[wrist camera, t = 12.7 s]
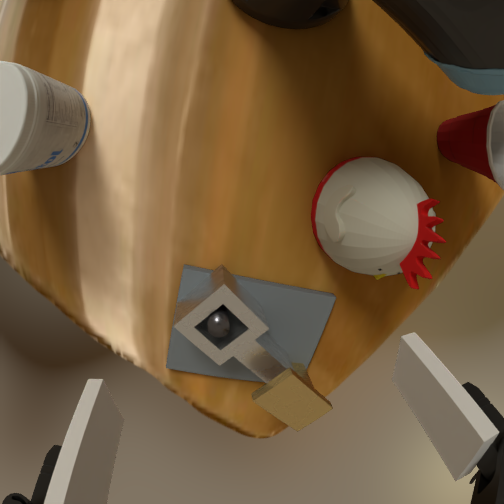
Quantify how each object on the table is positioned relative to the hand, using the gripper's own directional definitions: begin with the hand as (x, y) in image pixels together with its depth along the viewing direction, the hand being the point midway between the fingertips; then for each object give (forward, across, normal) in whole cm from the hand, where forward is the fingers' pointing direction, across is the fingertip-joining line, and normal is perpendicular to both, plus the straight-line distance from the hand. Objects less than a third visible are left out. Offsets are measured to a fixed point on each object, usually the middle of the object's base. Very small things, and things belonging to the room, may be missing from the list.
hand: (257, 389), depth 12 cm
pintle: (+23, -3, -8) cm, 25 cm away
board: (+24, 0, -14) cm, 28 cm away
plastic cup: (+26, +32, +9) cm, 42 cm away
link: (+23, 0, -12) cm, 26 cm away
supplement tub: (+25, -18, +15) cm, 35 cm away
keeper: (+23, +4, -18) cm, 29 cm away
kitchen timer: (+26, +16, 0) cm, 30 cm away
